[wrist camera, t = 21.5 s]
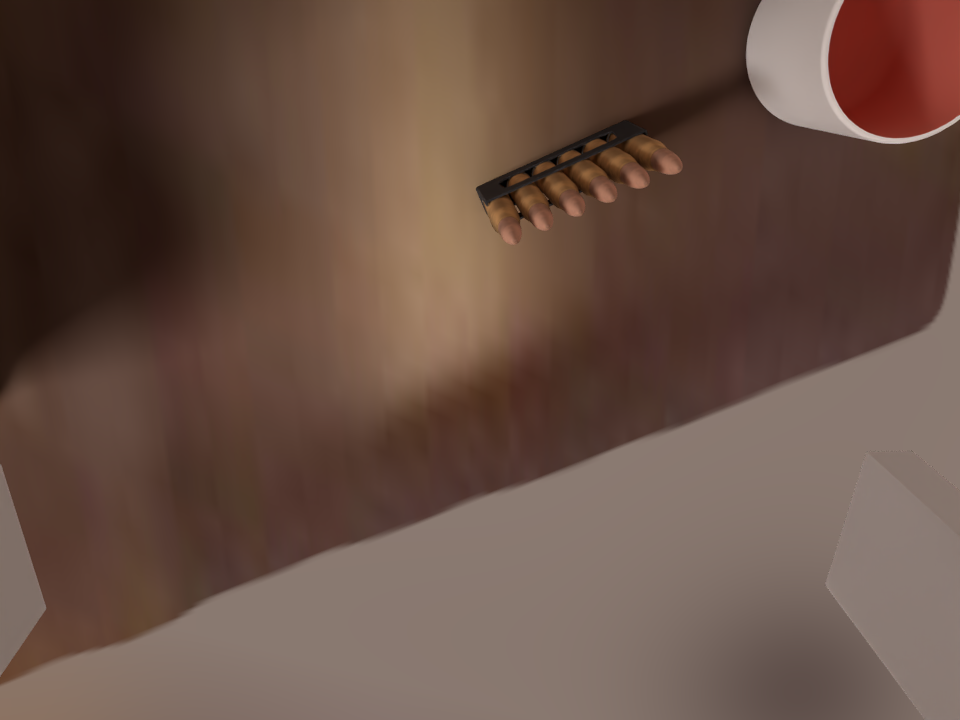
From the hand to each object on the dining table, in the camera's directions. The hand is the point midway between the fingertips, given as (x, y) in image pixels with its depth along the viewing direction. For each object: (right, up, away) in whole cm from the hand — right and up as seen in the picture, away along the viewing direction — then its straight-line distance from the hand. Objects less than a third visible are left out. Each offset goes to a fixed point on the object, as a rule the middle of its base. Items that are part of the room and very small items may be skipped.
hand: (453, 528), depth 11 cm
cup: (+22, +23, +32) cm, 45 cm away
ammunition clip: (+5, +15, +34) cm, 38 cm away
